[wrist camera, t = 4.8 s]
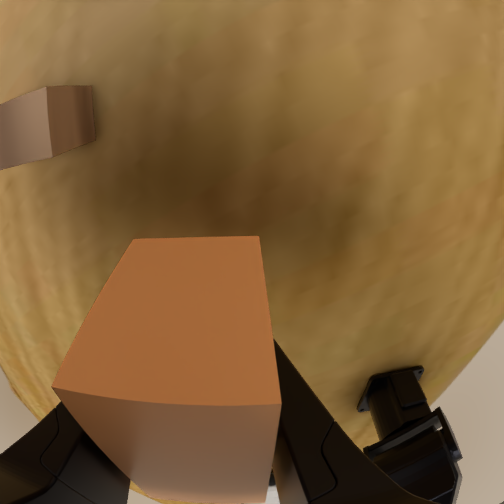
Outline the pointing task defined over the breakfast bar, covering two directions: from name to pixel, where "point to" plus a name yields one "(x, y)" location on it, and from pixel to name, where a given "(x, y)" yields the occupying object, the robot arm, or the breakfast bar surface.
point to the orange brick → (181, 370)
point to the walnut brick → (45, 124)
